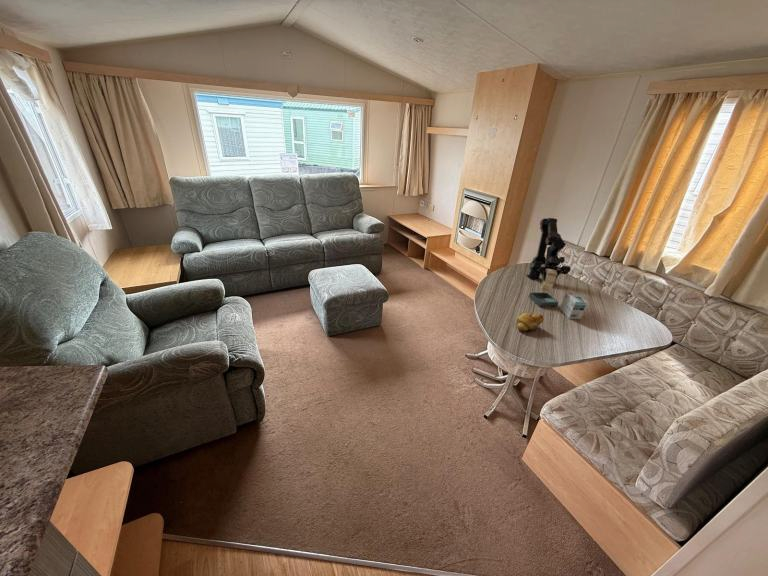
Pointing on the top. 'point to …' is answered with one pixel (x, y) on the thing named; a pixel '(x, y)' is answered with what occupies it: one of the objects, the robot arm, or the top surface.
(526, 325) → the bread roll
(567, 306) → the light bulb box
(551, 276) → the tall beech block
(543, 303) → the grey green tray
